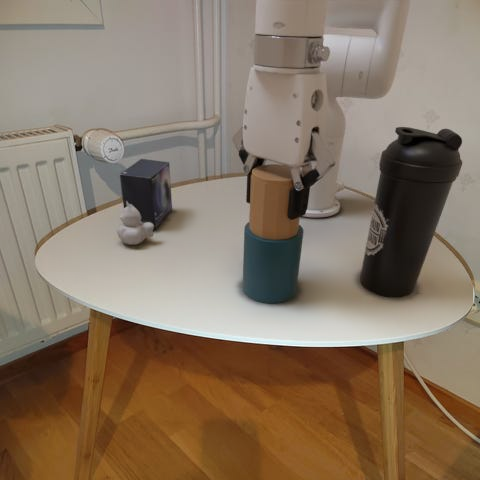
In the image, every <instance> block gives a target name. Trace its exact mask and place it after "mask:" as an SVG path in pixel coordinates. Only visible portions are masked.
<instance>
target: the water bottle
mask: <svg viewBox="0 0 480 480" xmlns="http://www.w3.org/2000/svg"><path fill="white" fill-rule="evenodd" d="M394 132H395V134H396V135H397V138H396V139H394V140H393V141H391V142H390V143H389V144H388V145H387V146H386V149H384V150H383V151H382V152H381V155H380V160H379V171H380V172H379V177H378V183H377V188H376V193H375V199H374V202H373V207H372V213H371V218H370V223H369V228H368V233H367V239H366V244H365V249H364V255H363V260H362V265H361V271H360V276H359V282H360V284H361V285H362V287H363V288H364V289H365V290H366V291H368V292H370V293H372V294H374V295H377V296H379V297H384V298H390V299H391V298H392V299H394V298H395V299H396V298H398V299H400V298H405V297H408V296H410V295H412V294H413V293H414V291H415V288H416V285H417V283H418V280H419V278H420V275H421V272H422V268H423V266H424V263H425V260H426V258H427V255H428V252H429V250H430V246H431V244H432V242H433V238H434V236H435V232H436V230H437V227H438V225H439V221H440V219H441V217H442V213H443V211H444V208H445V206H446V203H447V199H448V197H449V195H450V192H451V188H452V186H453V183H454V182H455V181H456V180H457V178H458V177H459V175H460V172H461V169H462V166H463V160H462V159H461V153H460V151H459V150H460V148H461V146H462V144H463V140H462V136H460V134H458V133H456V132H455V131H453V130H452V129H450V128H441V129H440V130H439V131H437V133H435V132H430V131H426V130H423V129H419V128H414V127H409V126H408V127H407V126H398V127H395V131H394Z"/></svg>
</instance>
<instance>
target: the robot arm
mask: <svg viewBox="0 0 480 480" xmlns="http://www.w3.org/2000/svg"><path fill="white" fill-rule="evenodd" d="M410 5H411V0H255V23H254V24H255V25H254V46H253V47H254V48H253V66H252V67H250V70H249V75H248V80H247V85H246V91H245V97H244V98H245V100H244V106H243V107H244V108H243V122H242V127H241V128H240V129H239V130H238V131H236V133H235V134H234V135H233V136H232V142H233V144H234V147H235V148H236V151H237V152H238V157H239V159H240V160H241V163H242V164H243V167H242V169H243V172H244V173H245V174H247V175H246V198H245V200H246V204H249V205H250V188H251V175H252V170H253V169H254V168H256V167H258V166H262V165H266V162H267V161H270V162H273V163H275V164H279V165H287V166H289V167H290V171H291V175H292V179H293V183H294V187H295V188H293V189H291V190H290V195H289V206H288V218H289V219H291V220H294V219H296V218H298V217H300V218H301V217H305V218H314V219H315V218H326V217H331V216H334V215H336V214H338V213H339V211H340V209H341V203H340V201H339V200H337V199H336V195H337V193H339V192H342V191H344V190H345V184H344V182H342V181H339V182H338V176H339V169H340V163H341V158H342V151H343V145H344V138H345V134H346V127H347V122H346V116H345V113H344V111H343V109H342V107H341V105H340V104H339V102H338V99H337V98H353V99H366V100H377V99H382V98H384V97H386V96H387V95H388V93H389V92H390V91H391V90H392V87H393V84H394V81H395V77H396V73H397V68H398V64H399V59H400V54H401V50H402V45H403V39H404V35H405V30H406V25H407V19H408V15H409V10H410ZM325 27H328V28H329V27H330V28H336V29H337V28H338V29H357V30H359V29H360V30H373V31H374V32H375V34H376V36H366V35H365V36H364V35H352V34H334V33H333V34H332V33H329V34H328V33H327V34H325ZM301 170H302V171H303V175H304V176H302V172H301Z"/></svg>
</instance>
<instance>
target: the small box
mask: <svg viewBox="0 0 480 480" xmlns="http://www.w3.org/2000/svg"><path fill="white" fill-rule="evenodd" d="M119 182H120V190H121V196H122V197H121V198H122V206H123V209H124V208H125V207H127V204H126V201H127V202H128V203H129V204H132V205H133V206H134V207H135V208H136V209H137V210H138V211H139V213H140V215H141V220H140V221H141V222H142V223H146V222H149V223H152V224H153V225H154V228H153V231H156V230H157V229H158V228H159V226H161V225H162V224H163V222H164V221H165V220H166V219H167V218H168V217H169V215H171V213H172V212H173V200H172V187H171V186H172V185H171V170H170V162H169V161H163V160H162V161H161V160H156V159H155V160H154V159H148V158H147V159H146V158H140V159H139V160H137V161H136V162H135V163H133V164H132V165H130V166H128V167H127V168H126V169H125V170H123V171H121V172H120V173H119Z"/></svg>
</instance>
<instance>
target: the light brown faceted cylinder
mask: <svg viewBox="0 0 480 480" xmlns="http://www.w3.org/2000/svg"><path fill="white" fill-rule="evenodd" d="M301 172H302V176H304V175H303V171H302V170H301ZM293 188H295V187H294V183H293V179H292V175H291V171H290V167H289V166H287V165H283V164H280V163H275V164H273V163H271V164H265V165H262V166H258V167H256V168H254V169H253V170H252V175H251V188H250V204H249V216H248V217H249V219H248V220H249V221H248V222H249V229H250V231H251V232H252V234H254V235H256V236H258V237H261V238H264V239H271V240H281V239H289V238H291V237H293V236H295V235H297V232H298V229H299V225H300V218H301V217H298V218H296V219H294V220H291V219H289V218H288V206H289V195H290V190H291V189H293Z"/></svg>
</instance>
